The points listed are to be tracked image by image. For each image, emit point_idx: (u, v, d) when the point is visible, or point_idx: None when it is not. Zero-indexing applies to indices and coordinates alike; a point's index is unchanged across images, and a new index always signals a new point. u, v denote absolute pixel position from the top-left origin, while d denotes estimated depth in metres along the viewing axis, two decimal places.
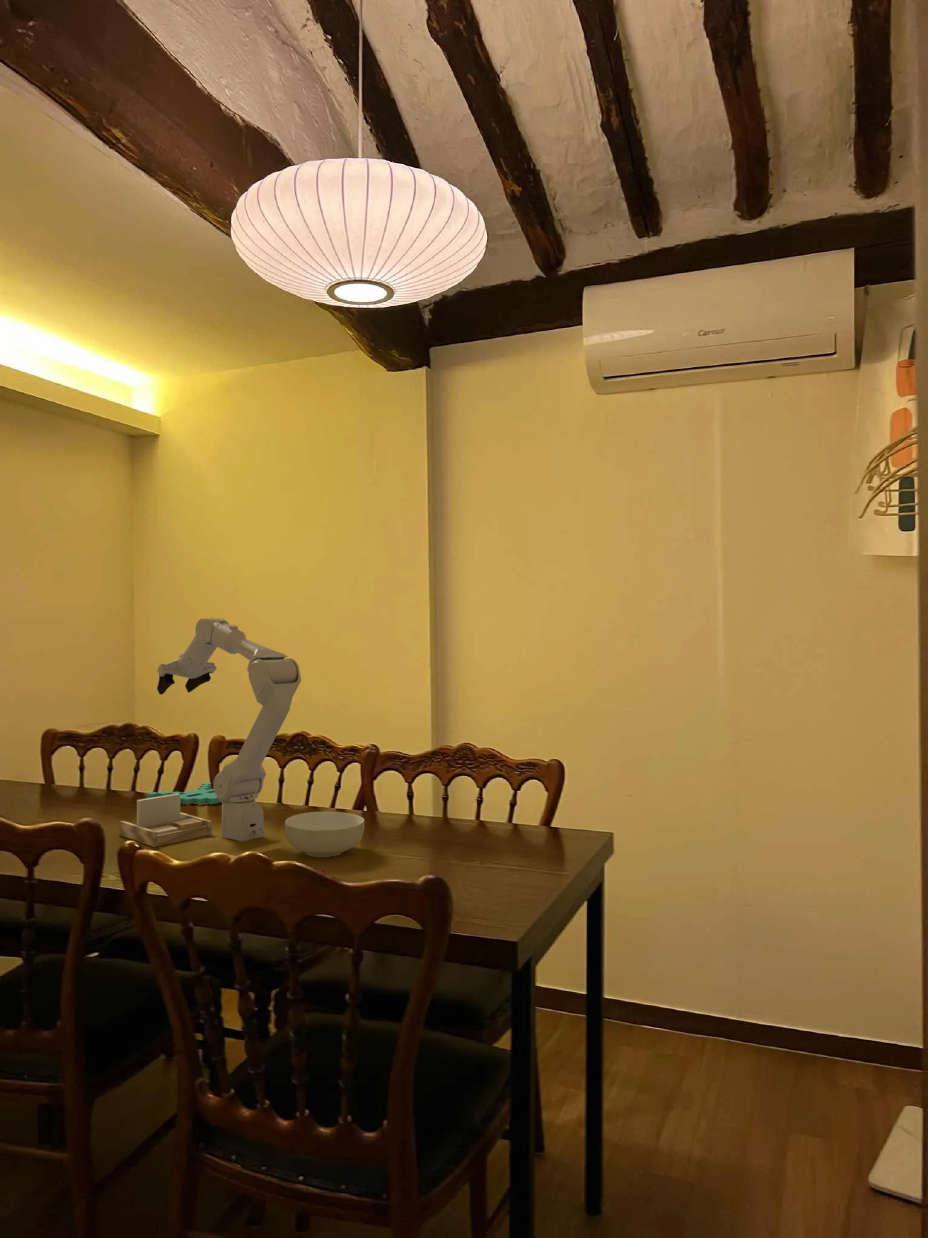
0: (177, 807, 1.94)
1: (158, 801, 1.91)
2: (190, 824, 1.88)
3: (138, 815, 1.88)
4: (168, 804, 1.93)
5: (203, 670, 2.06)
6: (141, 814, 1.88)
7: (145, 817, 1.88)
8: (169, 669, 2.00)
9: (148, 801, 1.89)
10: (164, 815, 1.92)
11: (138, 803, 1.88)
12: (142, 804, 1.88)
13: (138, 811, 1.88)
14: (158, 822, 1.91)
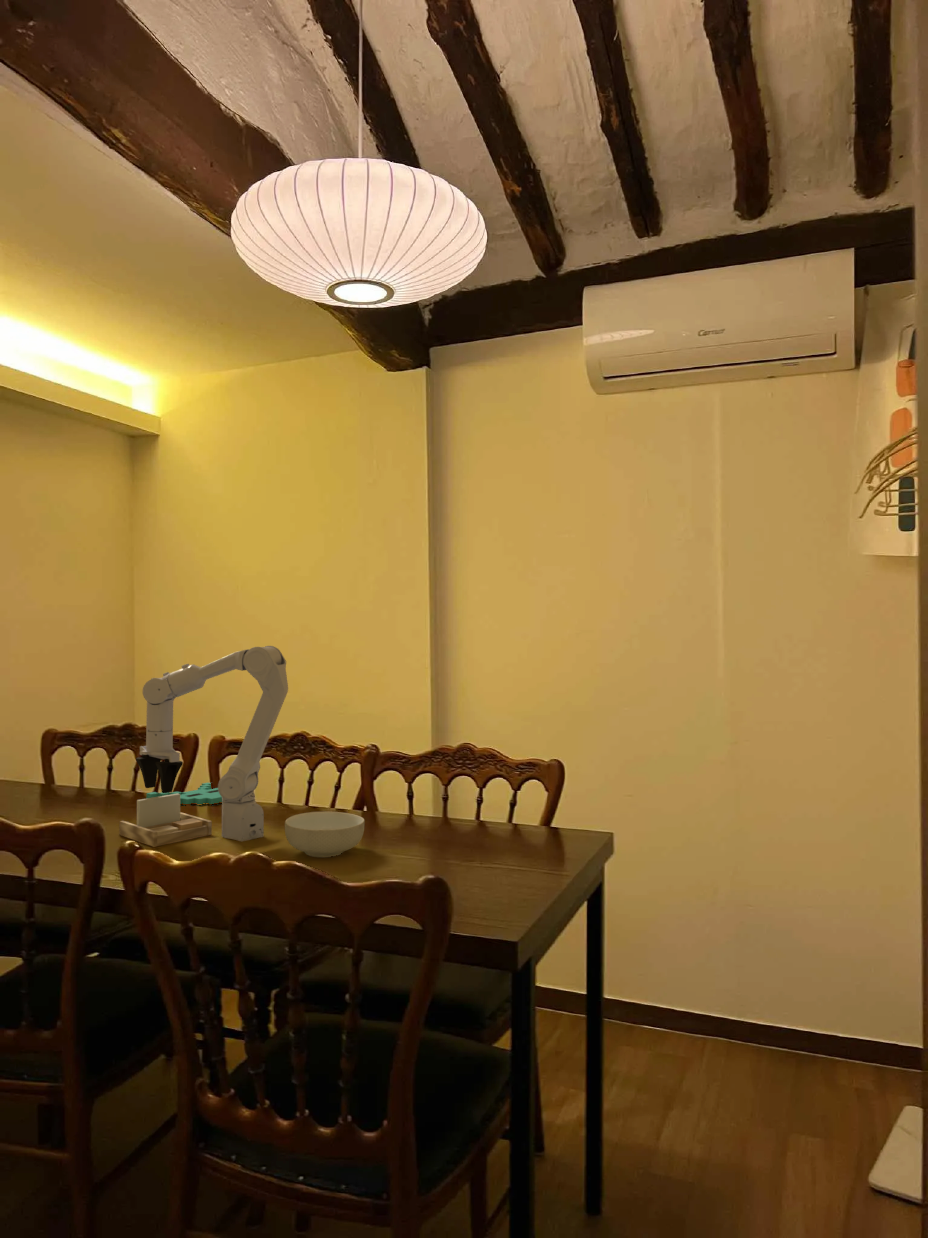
0: (177, 807, 1.94)
1: (158, 801, 1.91)
2: (190, 824, 1.88)
3: (138, 815, 1.88)
4: (168, 804, 1.93)
5: None
6: (141, 814, 1.88)
7: (145, 817, 1.88)
8: None
9: (148, 801, 1.89)
10: (164, 815, 1.92)
11: (138, 803, 1.88)
12: (142, 804, 1.88)
13: (138, 811, 1.88)
14: (158, 822, 1.91)
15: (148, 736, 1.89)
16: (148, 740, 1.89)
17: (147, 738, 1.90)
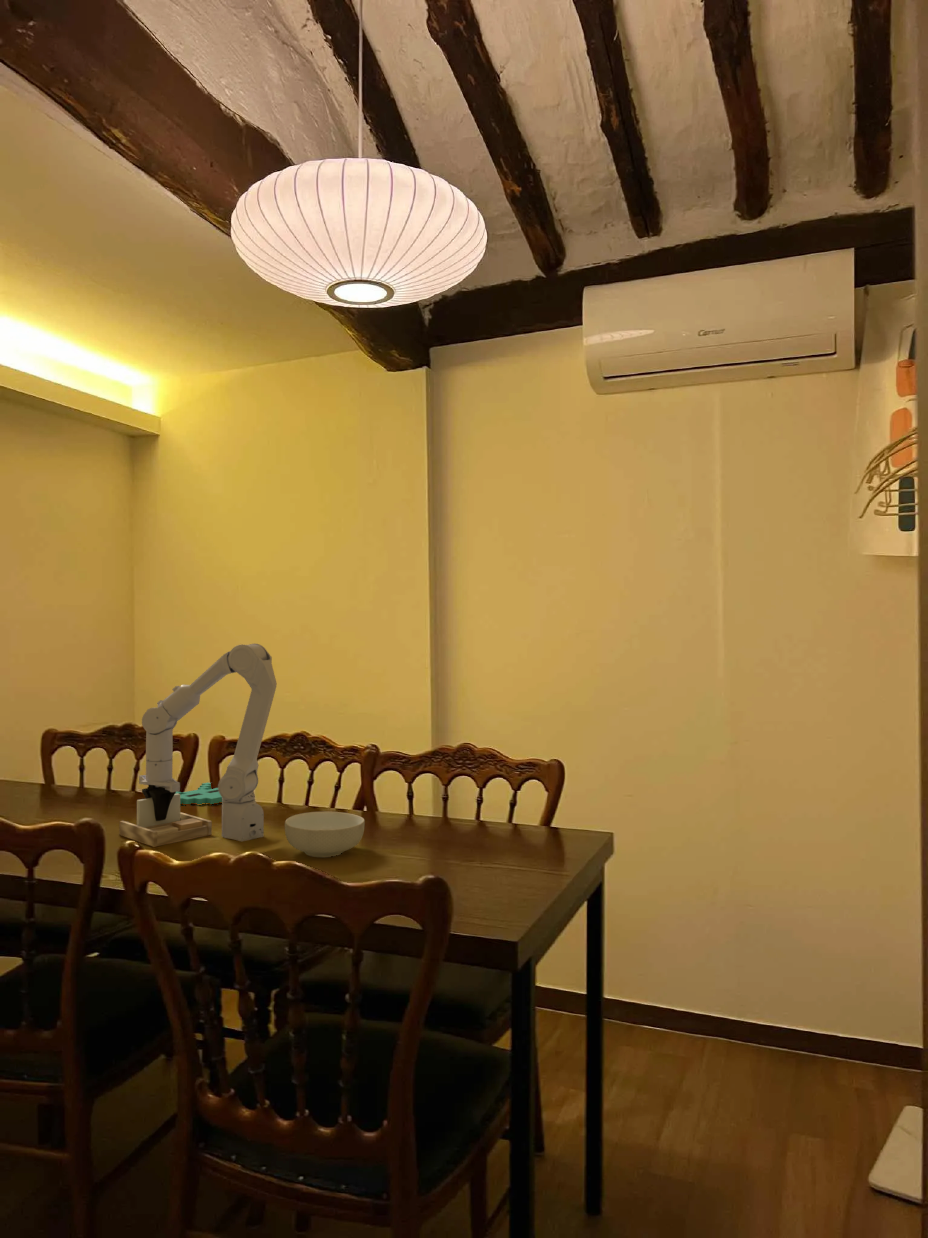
0: (177, 807, 1.94)
1: None
2: (190, 824, 1.88)
3: (138, 815, 1.88)
4: None
5: None
6: (141, 814, 1.88)
7: (145, 817, 1.88)
8: None
9: (148, 801, 1.89)
10: None
11: (138, 803, 1.88)
12: (142, 804, 1.88)
13: (138, 811, 1.88)
14: (158, 822, 1.91)
15: (148, 766, 1.89)
16: (148, 770, 1.89)
17: (147, 768, 1.90)
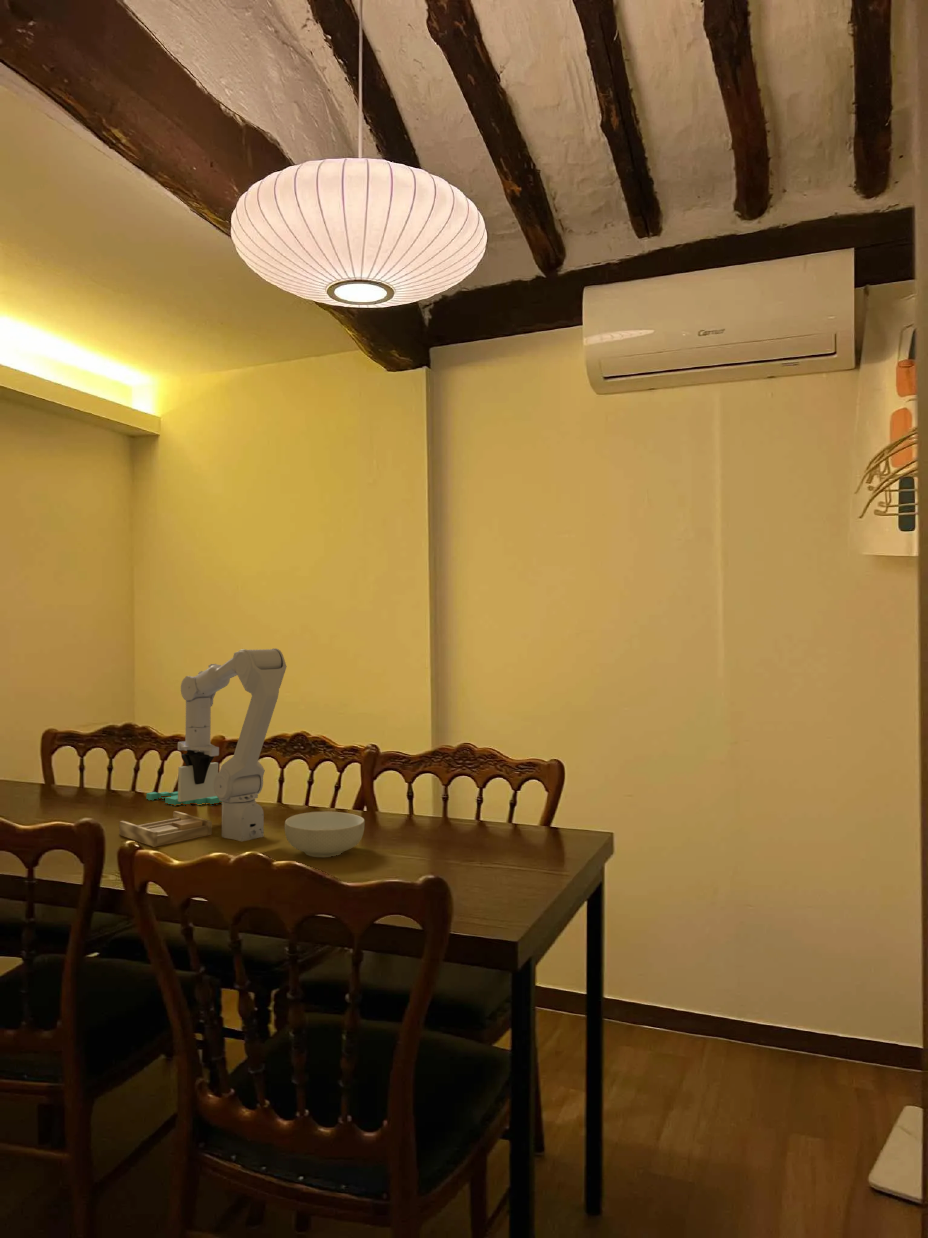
0: (215, 775, 2.04)
1: None
2: (190, 824, 1.88)
3: (180, 781, 1.97)
4: (207, 771, 2.02)
5: None
6: (182, 780, 1.97)
7: (186, 783, 1.98)
8: None
9: (189, 768, 1.98)
10: None
11: (180, 770, 1.97)
12: (183, 771, 1.97)
13: (180, 777, 1.97)
14: (198, 788, 2.00)
15: (188, 732, 1.99)
16: (188, 736, 1.99)
17: (187, 734, 1.99)
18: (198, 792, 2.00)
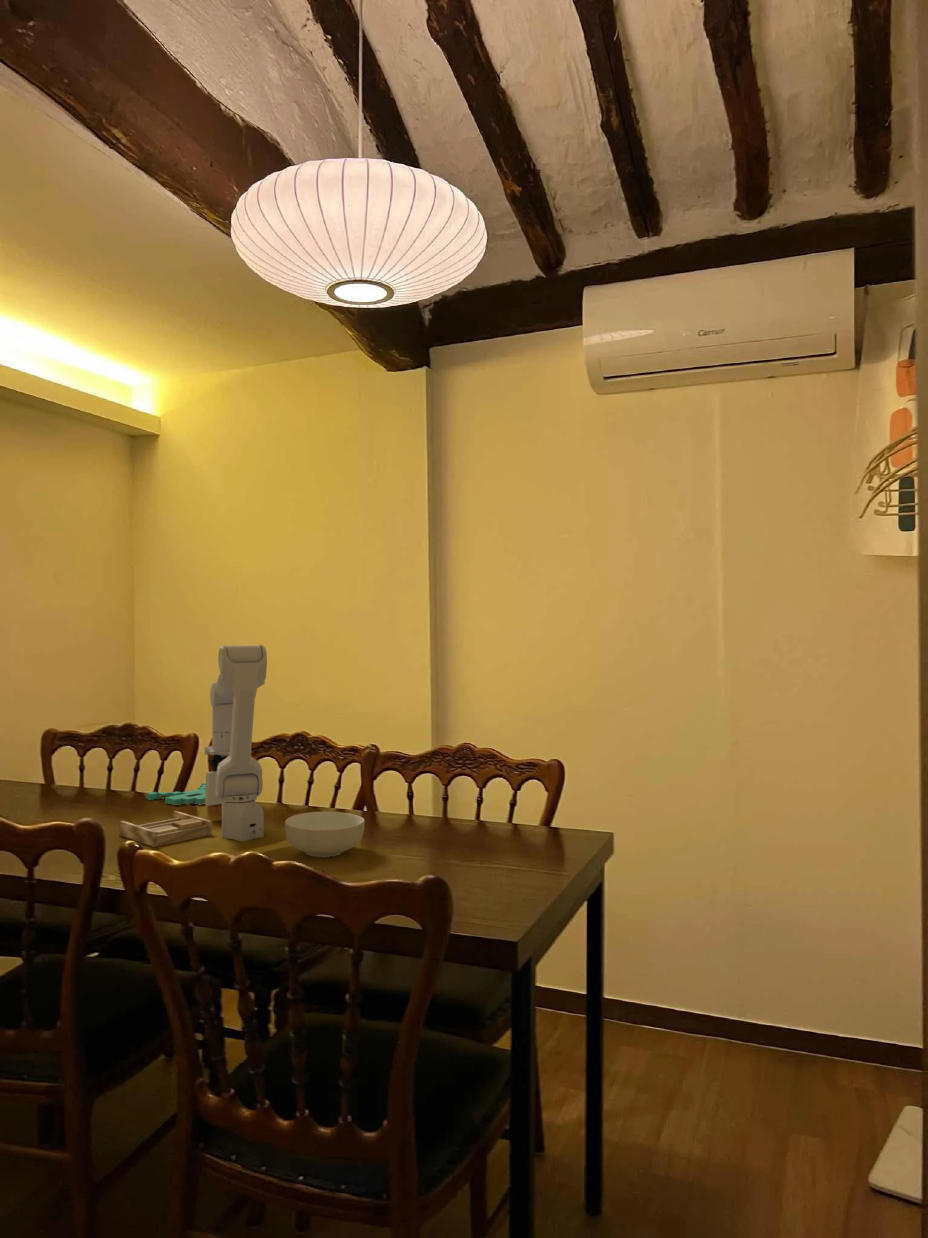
0: None
1: None
2: (190, 824, 1.88)
3: (207, 786, 2.04)
4: None
5: None
6: (210, 785, 2.04)
7: (213, 788, 2.05)
8: None
9: None
10: None
11: (207, 775, 2.04)
12: (211, 776, 2.04)
13: (207, 782, 2.04)
14: None
15: (215, 737, 2.06)
16: (215, 741, 2.06)
17: (213, 739, 2.06)
18: None
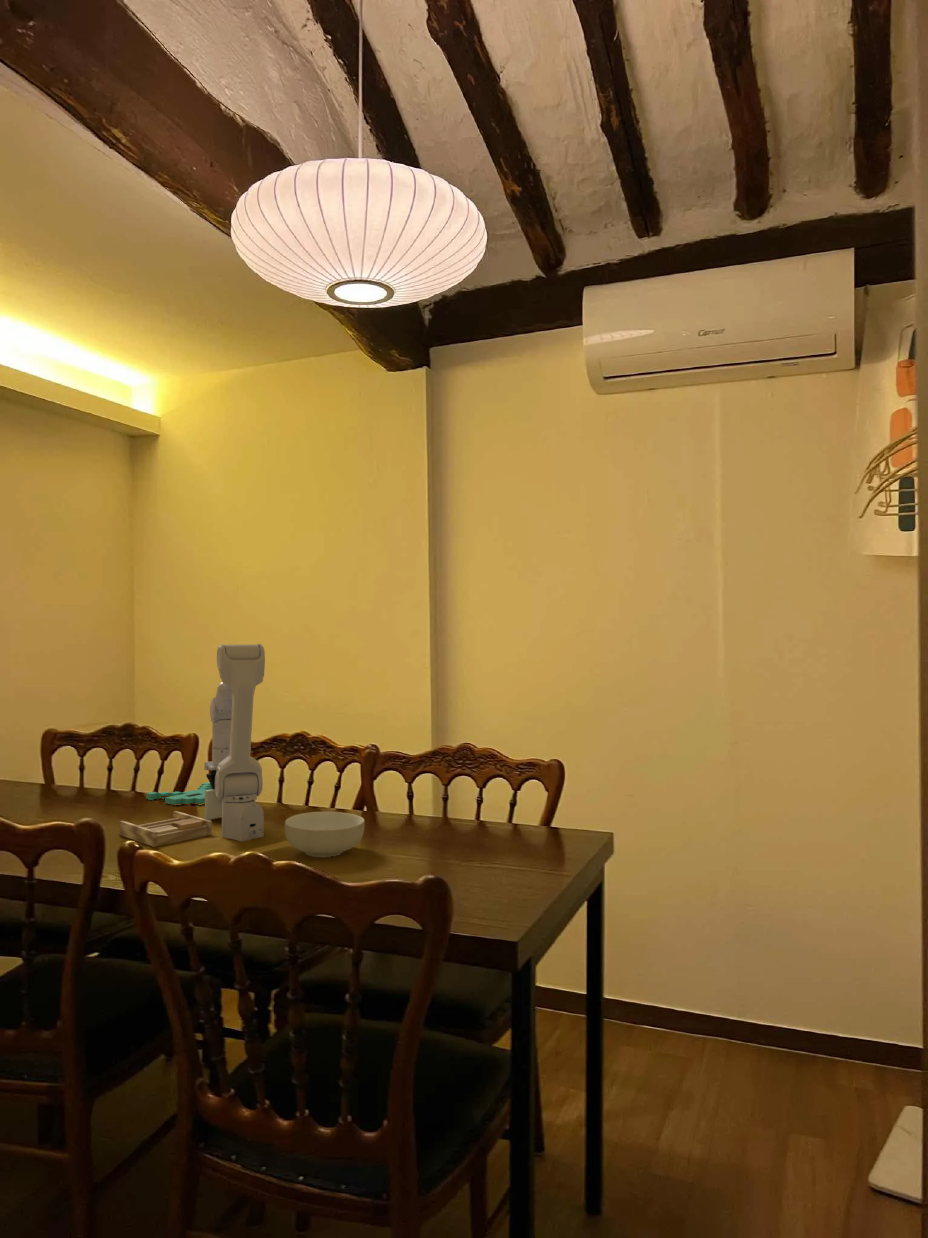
0: None
1: None
2: (190, 824, 1.88)
3: (206, 804, 2.04)
4: None
5: None
6: (209, 804, 2.04)
7: (212, 806, 2.05)
8: None
9: None
10: None
11: (206, 793, 2.04)
12: (210, 794, 2.04)
13: (206, 801, 2.04)
14: None
15: (214, 753, 2.06)
16: (214, 756, 2.06)
17: (213, 755, 2.06)
18: None
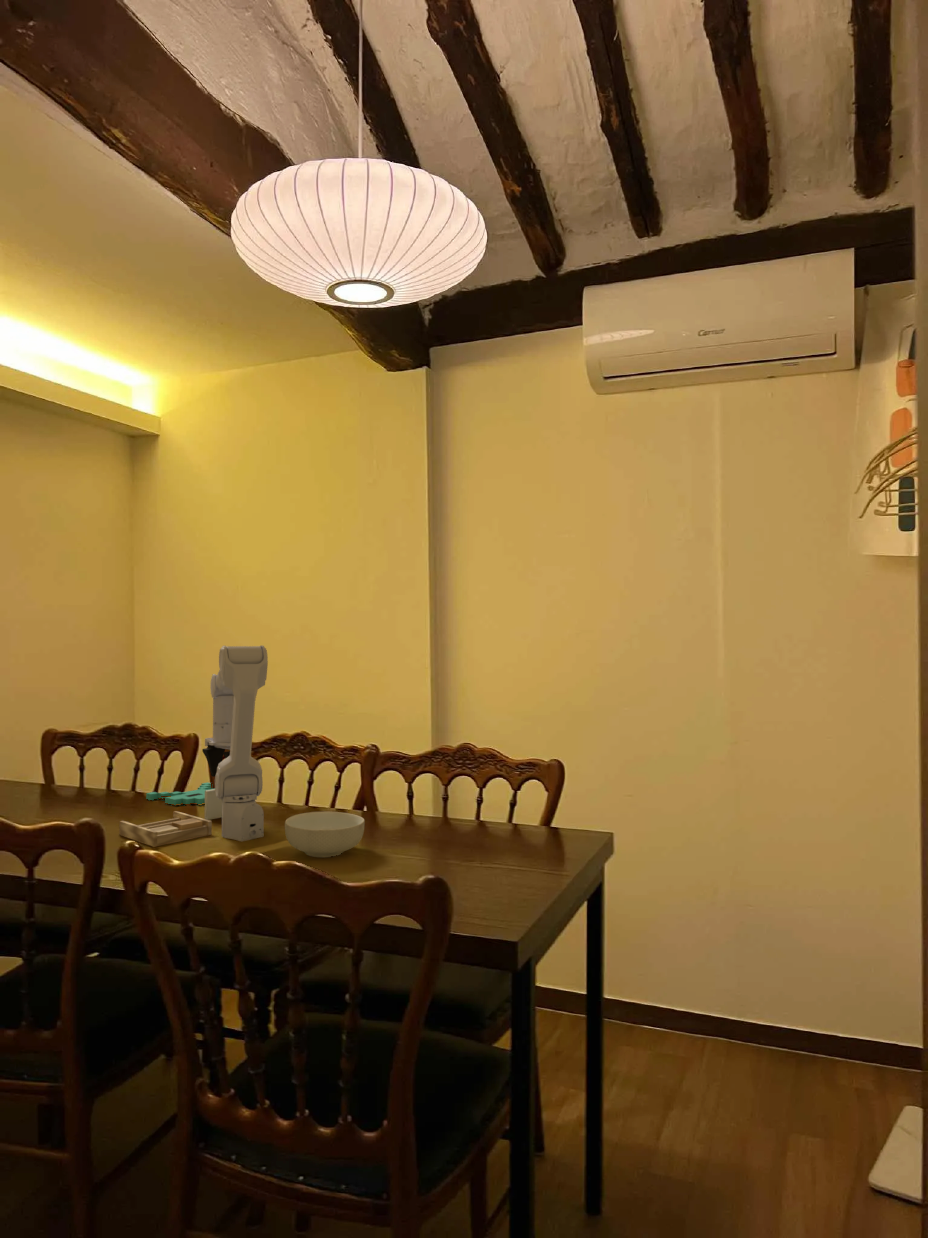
0: None
1: None
2: (190, 824, 1.88)
3: (206, 804, 2.04)
4: None
5: None
6: (209, 804, 2.04)
7: (212, 806, 2.05)
8: None
9: None
10: None
11: (206, 793, 2.04)
12: (210, 794, 2.04)
13: (206, 801, 2.04)
14: None
15: (215, 728, 2.06)
16: (215, 732, 2.06)
17: (214, 730, 2.06)
18: None
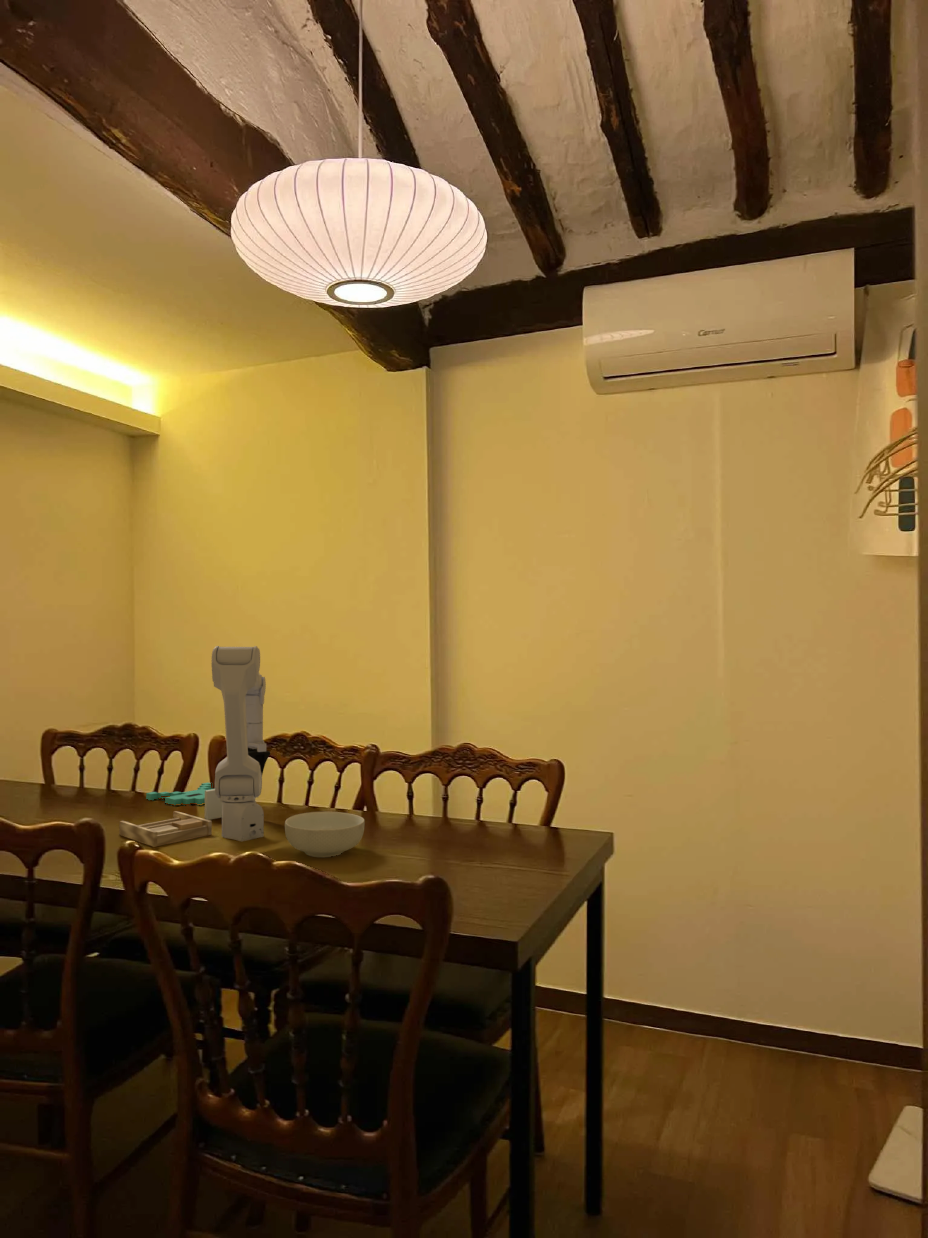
0: None
1: None
2: (190, 824, 1.88)
3: (206, 804, 2.04)
4: None
5: None
6: (209, 804, 2.04)
7: (212, 806, 2.05)
8: None
9: None
10: None
11: (206, 793, 2.04)
12: (210, 794, 2.04)
13: (206, 801, 2.04)
14: None
15: None
16: None
17: None
18: None
